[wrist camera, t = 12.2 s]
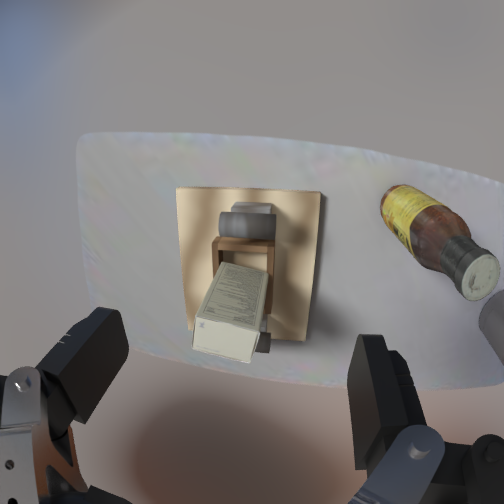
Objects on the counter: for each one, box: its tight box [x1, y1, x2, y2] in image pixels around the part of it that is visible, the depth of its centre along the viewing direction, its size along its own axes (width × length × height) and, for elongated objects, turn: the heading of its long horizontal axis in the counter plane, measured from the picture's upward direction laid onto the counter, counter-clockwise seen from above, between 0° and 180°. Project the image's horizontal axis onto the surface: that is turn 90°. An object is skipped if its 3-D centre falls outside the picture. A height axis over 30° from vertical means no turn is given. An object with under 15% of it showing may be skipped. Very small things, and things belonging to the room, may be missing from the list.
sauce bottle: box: [380, 185, 500, 301], centre depth 27 cm, size 6×6×20 cm
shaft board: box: [176, 187, 321, 353], centre depth 39 cm, size 18×22×7 cm
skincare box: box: [191, 262, 269, 363], centre depth 33 cm, size 6×4×12 cm
